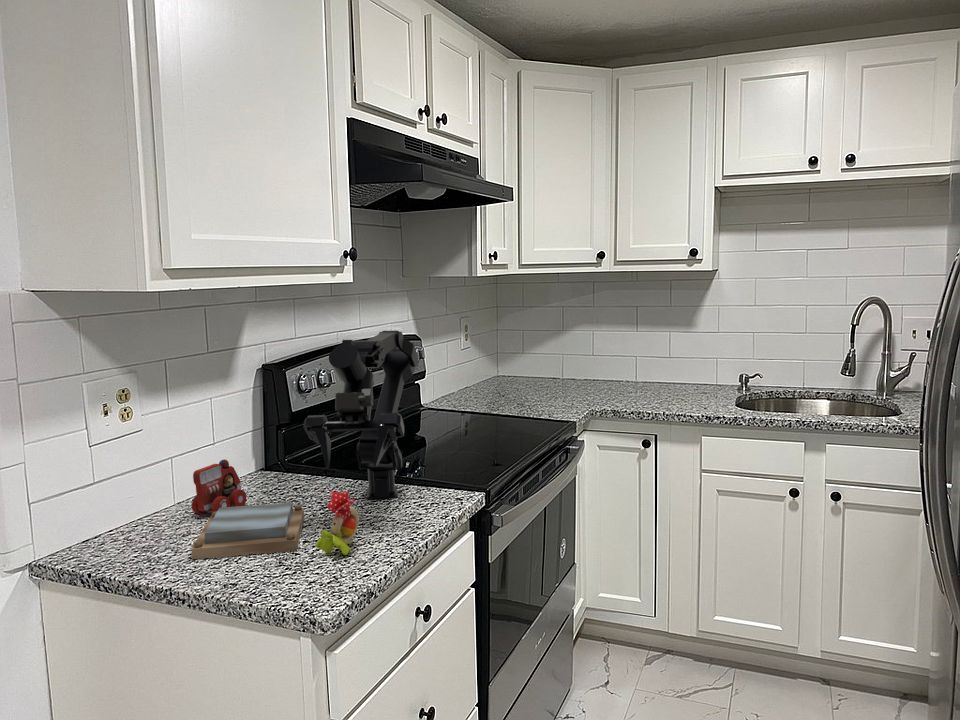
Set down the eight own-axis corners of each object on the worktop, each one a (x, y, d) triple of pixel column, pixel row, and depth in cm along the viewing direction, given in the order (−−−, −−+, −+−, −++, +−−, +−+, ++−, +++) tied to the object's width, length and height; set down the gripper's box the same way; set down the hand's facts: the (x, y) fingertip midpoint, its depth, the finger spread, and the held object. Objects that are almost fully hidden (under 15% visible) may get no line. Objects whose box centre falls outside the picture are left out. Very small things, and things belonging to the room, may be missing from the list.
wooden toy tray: (212, 524, 148) (210, 505, 148) (304, 517, 151) (303, 498, 150) (192, 560, 130) (190, 538, 130) (296, 550, 133) (295, 529, 133)
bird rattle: (333, 553, 137) (307, 551, 129) (342, 493, 140) (318, 487, 131) (363, 557, 135) (339, 556, 127) (372, 496, 138) (349, 490, 129)
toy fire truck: (253, 503, 161) (249, 456, 160) (212, 522, 150) (208, 472, 148) (227, 499, 164) (224, 454, 162) (186, 518, 153) (182, 469, 151)
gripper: (301, 375, 142) (290, 449, 133) (398, 372, 141) (394, 446, 132) (315, 404, 151) (306, 475, 142) (406, 401, 150) (402, 471, 142)
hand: (351, 466), depth 140 cm, fingers open, 9 cm apart
